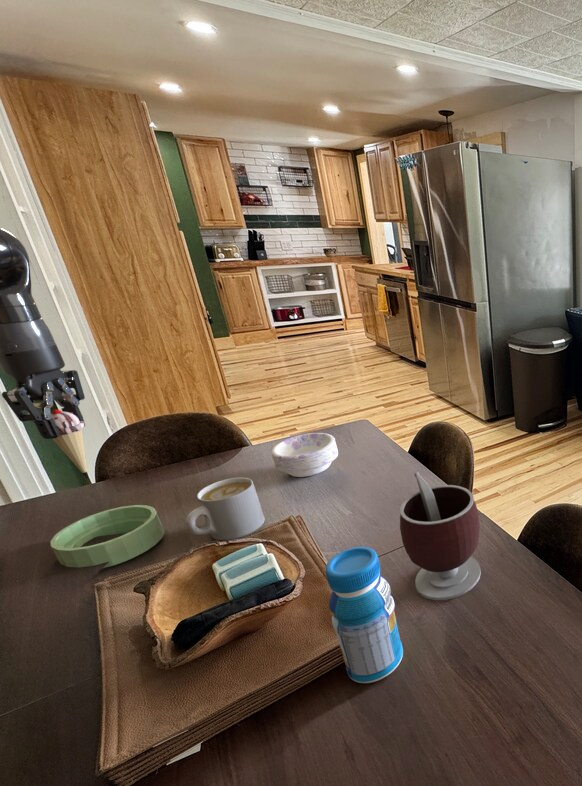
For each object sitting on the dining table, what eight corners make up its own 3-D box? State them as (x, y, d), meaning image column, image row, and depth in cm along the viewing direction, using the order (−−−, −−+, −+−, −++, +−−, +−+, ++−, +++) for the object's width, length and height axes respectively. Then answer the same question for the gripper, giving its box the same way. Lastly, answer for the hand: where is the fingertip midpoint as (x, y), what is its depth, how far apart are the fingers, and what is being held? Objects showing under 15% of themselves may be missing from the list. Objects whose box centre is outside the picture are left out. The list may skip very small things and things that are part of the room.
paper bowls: (285, 489, 122) (277, 462, 119) (273, 468, 133) (265, 442, 130) (347, 470, 132) (341, 444, 129) (332, 451, 142) (326, 427, 139)
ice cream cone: (59, 483, 93) (24, 413, 88) (94, 470, 98) (63, 402, 93) (80, 487, 92) (47, 416, 86) (114, 473, 97) (84, 405, 92)
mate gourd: (498, 578, 92) (489, 490, 85) (430, 615, 84) (413, 521, 76) (460, 542, 103) (449, 460, 95) (396, 571, 94) (378, 484, 86)
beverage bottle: (370, 695, 69) (342, 589, 62) (334, 671, 73) (304, 568, 65) (416, 653, 76) (396, 553, 69) (381, 632, 80) (358, 535, 72)
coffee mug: (254, 509, 114) (242, 473, 110) (272, 523, 109) (260, 486, 105) (185, 537, 104) (169, 498, 100) (201, 554, 98) (185, 514, 95)
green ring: (41, 581, 91) (27, 555, 89) (98, 533, 105) (87, 510, 103) (138, 567, 95) (126, 543, 92) (180, 523, 109) (171, 501, 106)
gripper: (31, 337, 90) (69, 419, 97) (-41, 357, 77) (8, 449, 84) (79, 335, 92) (113, 415, 99) (16, 354, 79) (60, 444, 86)
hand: (65, 430), depth 91 cm, fingers closed on ice cream cone, 5 cm apart
